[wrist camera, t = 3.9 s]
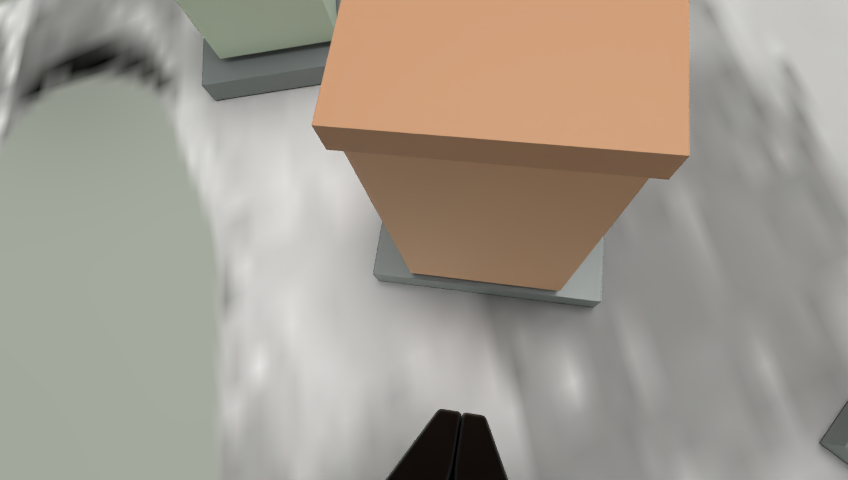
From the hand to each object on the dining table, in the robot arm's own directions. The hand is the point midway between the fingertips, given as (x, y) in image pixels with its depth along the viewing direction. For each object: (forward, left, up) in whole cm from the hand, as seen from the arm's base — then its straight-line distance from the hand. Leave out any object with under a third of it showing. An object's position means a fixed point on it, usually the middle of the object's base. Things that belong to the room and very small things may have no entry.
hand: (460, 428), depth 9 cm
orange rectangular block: (+6, +1, -5) cm, 8 cm away
